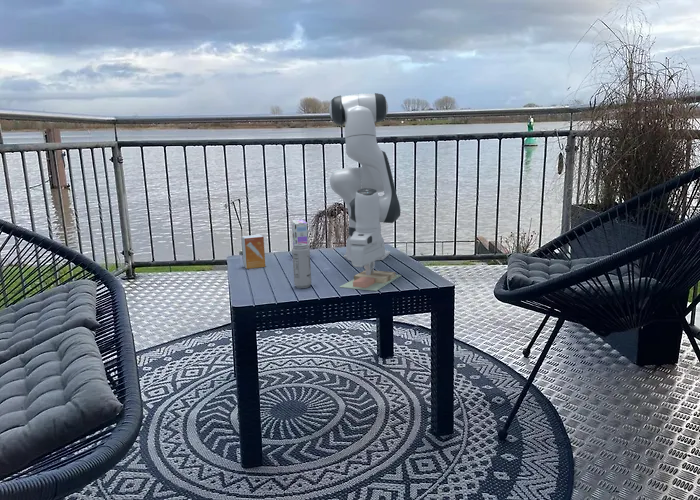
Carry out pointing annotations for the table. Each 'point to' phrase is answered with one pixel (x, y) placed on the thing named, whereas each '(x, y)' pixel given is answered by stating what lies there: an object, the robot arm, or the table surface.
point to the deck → (377, 276)
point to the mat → (372, 287)
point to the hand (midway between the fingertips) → (369, 274)
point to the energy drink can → (301, 265)
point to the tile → (363, 282)
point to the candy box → (300, 232)
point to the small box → (253, 251)
